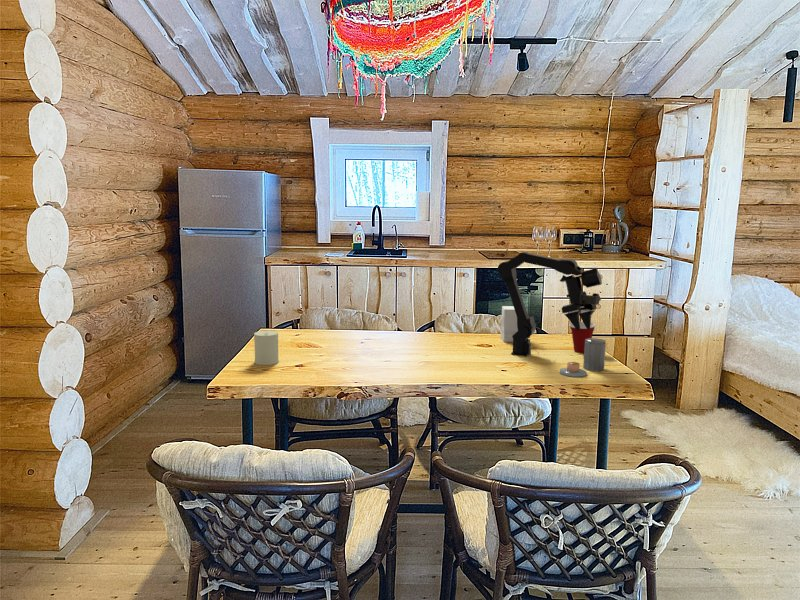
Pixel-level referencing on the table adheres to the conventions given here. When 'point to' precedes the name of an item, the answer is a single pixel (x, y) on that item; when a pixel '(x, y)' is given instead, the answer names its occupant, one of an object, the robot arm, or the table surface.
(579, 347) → the plastic cup
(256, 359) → the can
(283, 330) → the table surface
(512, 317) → the supplement box
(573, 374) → the bowl saucer
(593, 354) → the grey flanged cylinder
